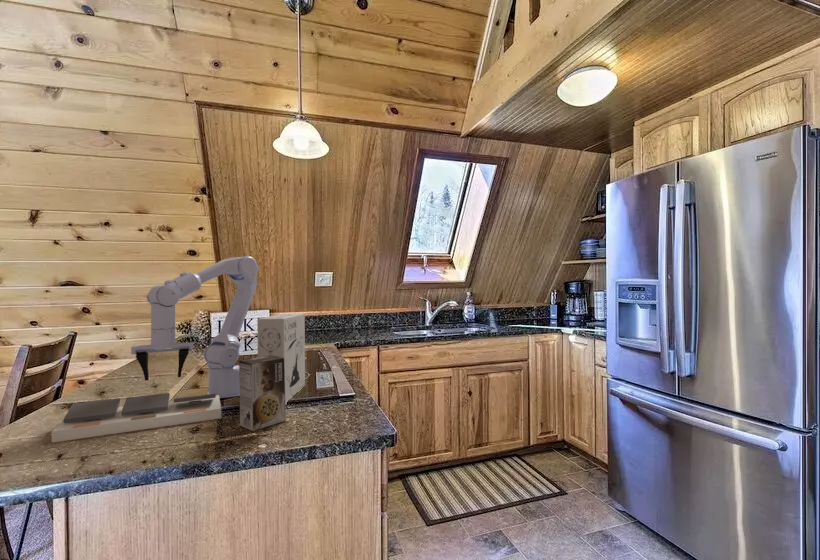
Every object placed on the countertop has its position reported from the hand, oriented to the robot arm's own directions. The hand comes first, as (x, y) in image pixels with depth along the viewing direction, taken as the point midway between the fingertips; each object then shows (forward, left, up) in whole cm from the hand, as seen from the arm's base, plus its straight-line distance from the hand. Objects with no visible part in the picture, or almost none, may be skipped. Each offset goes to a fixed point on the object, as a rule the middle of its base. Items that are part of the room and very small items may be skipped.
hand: (163, 378), depth 112 cm
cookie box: (-23, +24, -9) cm, 34 cm away
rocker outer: (+14, +7, -5) cm, 16 cm away
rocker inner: (-8, +7, -5) cm, 11 cm away
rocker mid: (+3, +7, -5) cm, 9 cm away
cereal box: (-32, +1, -9) cm, 33 cm away
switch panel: (+3, +7, -9) cm, 12 cm away
